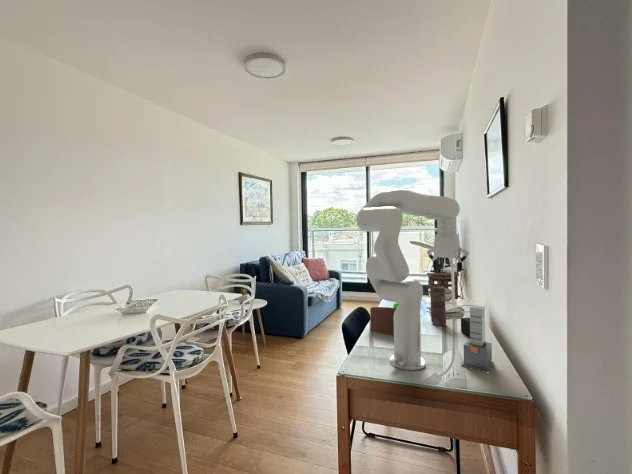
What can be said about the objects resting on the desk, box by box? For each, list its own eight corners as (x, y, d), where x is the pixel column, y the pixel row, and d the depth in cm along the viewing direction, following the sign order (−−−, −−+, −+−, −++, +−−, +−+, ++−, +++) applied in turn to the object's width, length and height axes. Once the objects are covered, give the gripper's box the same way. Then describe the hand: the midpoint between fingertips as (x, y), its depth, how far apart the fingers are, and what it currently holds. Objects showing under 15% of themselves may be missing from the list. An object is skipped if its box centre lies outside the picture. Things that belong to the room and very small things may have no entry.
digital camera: (483, 339, 143) (483, 323, 143) (471, 339, 143) (471, 324, 143) (472, 331, 154) (471, 317, 154) (460, 331, 154) (460, 317, 154)
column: (482, 348, 113) (482, 309, 112) (469, 345, 115) (469, 307, 115) (485, 344, 116) (485, 306, 116) (472, 341, 119) (472, 304, 118)
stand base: (488, 373, 109) (488, 350, 109) (460, 366, 115) (460, 345, 115) (494, 364, 116) (494, 343, 116) (468, 358, 122) (467, 338, 122)
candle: (428, 324, 167) (427, 286, 167) (435, 321, 172) (434, 284, 171) (442, 327, 161) (441, 288, 161) (448, 324, 166) (448, 286, 166)
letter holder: (411, 341, 142) (410, 310, 142) (370, 334, 153) (369, 305, 153) (417, 335, 151) (416, 305, 150) (377, 329, 161) (377, 301, 161)
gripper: (423, 231, 138) (424, 270, 138) (466, 230, 127) (466, 273, 127) (430, 231, 144) (430, 268, 144) (471, 230, 132) (471, 271, 133)
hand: (447, 270), depth 136 cm, fingers open, 9 cm apart
